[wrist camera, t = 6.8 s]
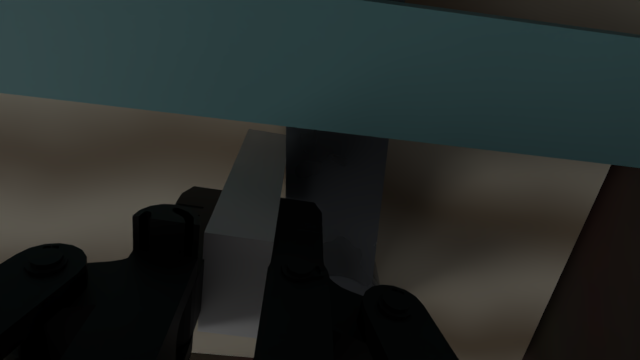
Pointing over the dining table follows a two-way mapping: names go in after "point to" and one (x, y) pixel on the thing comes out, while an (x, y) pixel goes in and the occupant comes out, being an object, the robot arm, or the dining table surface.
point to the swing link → (341, 197)
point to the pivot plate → (214, 168)
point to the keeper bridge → (339, 70)
